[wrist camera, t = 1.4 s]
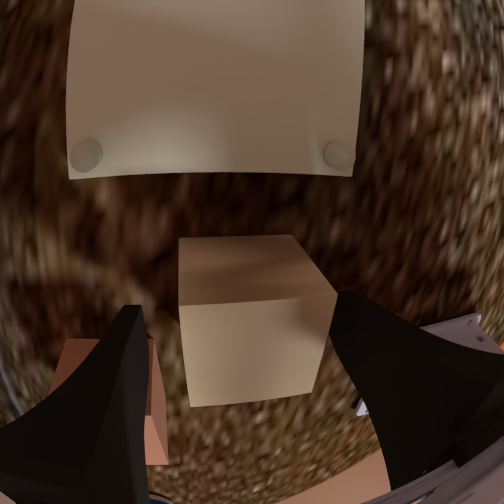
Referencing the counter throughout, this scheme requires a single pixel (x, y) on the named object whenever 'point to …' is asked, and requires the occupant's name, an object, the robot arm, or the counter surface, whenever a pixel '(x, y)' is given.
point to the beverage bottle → (158, 499)
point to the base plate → (213, 86)
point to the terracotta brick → (156, 396)
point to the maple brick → (251, 318)
